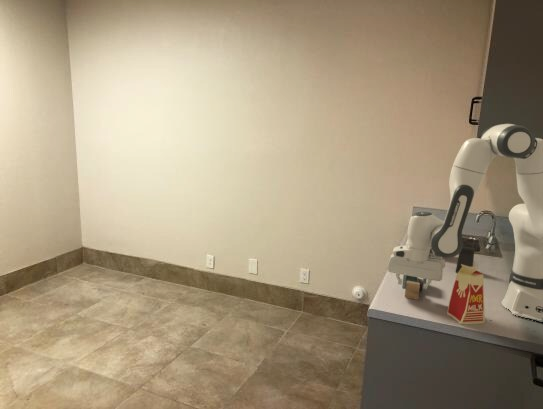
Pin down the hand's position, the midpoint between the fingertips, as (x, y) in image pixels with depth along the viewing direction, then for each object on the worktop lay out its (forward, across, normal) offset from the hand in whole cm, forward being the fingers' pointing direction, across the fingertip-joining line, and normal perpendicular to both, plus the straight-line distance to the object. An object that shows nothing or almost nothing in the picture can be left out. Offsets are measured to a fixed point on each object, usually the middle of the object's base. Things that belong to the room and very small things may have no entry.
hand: (412, 286), depth 154 cm
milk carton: (+4, -18, +10) cm, 21 cm away
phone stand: (+4, -22, -40) cm, 46 cm away
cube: (+4, 0, -1) cm, 4 cm away
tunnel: (+4, -1, -12) cm, 12 cm away
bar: (+4, 0, -12) cm, 13 cm away
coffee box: (+4, -6, -59) cm, 59 cm away
